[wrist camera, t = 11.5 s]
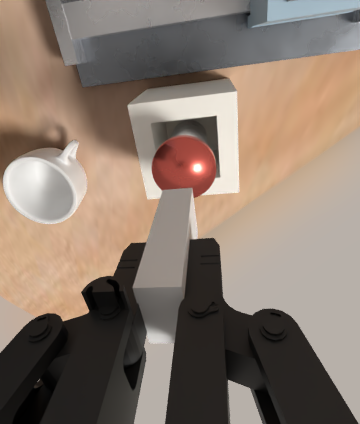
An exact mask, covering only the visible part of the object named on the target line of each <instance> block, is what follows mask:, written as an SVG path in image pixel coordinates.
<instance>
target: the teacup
mask: <svg viewBox="0 0 360 424" xmlns="http://www.w3.org/2000/svg"><path fill="white" fill-rule="evenodd" d="M78 145H79V142H78V141H76V140H72V141H71V142H70V143H69V144H68V145H67V146H66V148H65V149H64V150H60V149H57V148H41V149H36V150H32V151H30V152H28V153H25V154H23V155H21V156H19V157H17V158H16V159H14V160H13V161H12V162H11V163H10V164H9V165H8V167H7V168H6V170H5V172H4V176H3V188H4V191H5V194H6V196H7V198H8V200H9V202H10V203H11V204H12V206H13V207H14V208H15V209H16V210H17V211H18V212H19V213H21V214H22V215H23V216H25V217H27V218H29V219H31V220H33V221H35V222H39V223H44V224H55V223H59V222H62V221H64V220H66V219H68V218H69V217H70V216H71V215H72V214H73V213H74V212H75V211H76V209H77V208H78V206H79V204H80V203H81V201H82V199H83V197H84V196H85V193H86V191H87V177H86V173H85V171H84V169H83V167H82V165H81V164H80V162H79V161H78V160H77V159H76V151H77V147H78Z"/></svg>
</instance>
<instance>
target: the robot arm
mask: <svg viewBox="0 0 360 424" xmlns="http://www.w3.org/2000/svg"><path fill="white" fill-rule="evenodd" d="M197 236H198V231H197V222H196V214H195V206H194V198H193V189H192V188H182V189H169V190H163V191H162V194H161V197H160V201H159V204H158V207H157V210H156V213H155V217H154V220H153V223H152V226H151V230H150V233H149V236H148V239H147V242H146V243H131V244H130V245H129V246H128V247H127V248H126V249H125V250H124V251H123V254H122V256H121V259H120V262H119V264H118V266H117V269H116V271H115V273H114V276H106V277H100V278H98V279H96V280H94V281H92V282H91V283H89V284H88V285H87V286H86V287H85V288H84V289H83V291H82V292H81V293H82V295H83V297H84V300H85V302H86V304H87V306H88V309H89V313H88V314H85V315H83V316H80V317H76V318H73V319H70V320H66V321H62V319H61V317H60V316H58V315H57V314H50V313H47V314H44V315H41V316H38V317H36V318H35V319H34V320H31V321H30V322H29V323H28V324H27V325H25V326H24V327H23V329H22V330H21V331H20V332H19V333H18V334H17V335H16V336H15V337H14V339H13V340H12V341H11V342H10V343H9V344H8V345H7V346H6V347H5V349H4V350H3V351H2V352H1V353H0V424H134V419H135V414H136V408H137V404H138V398H139V393H140V388H141V383H142V378H143V373H144V367H145V362H146V351H145V348H144V344H145V339H146V334H147V337H148V341H149V343H174V352H173V360H172V370H171V378H170V386H169V395H168V404H167V412H166V421H165V424H230V412H229V394H228V380H231V381H233V382H236V383H238V384H241V385H244V386H246V387H249V388H250V389H251V392H252V394H253V397H254V400H255V403H256V406H257V409H258V412H259V414H260V417H261V420H262V423H263V424H358V422H357V420H356V419H355V417H354V416H353V414H352V412H351V411H350V409H349V407H348V406H347V404H346V403H345V401H344V399H343V398H342V396H341V394H340V393H339V391H338V389H337V388H336V386H335V385H334V383H333V381H332V380H331V378H330V376H329V375H328V373H327V372H326V370H325V368H324V367H323V365H322V363H321V362H320V360H319V358H318V357H317V355H316V353H315V352H314V350H313V349H312V347H311V345H310V344H309V342H308V340H307V339H306V337H305V335H304V334H303V332H302V331H301V329H300V327H299V326H298V324H297V323H296V322H295V320H294V319H293V318H292V317H291V316H289V315H288V314H286V313H284V312H283V311H280V310H276V309H262V310H260V311H258V312H256V313H255V314H253V316H252V315H248V314H245V313H241V312H239V311H236V310H234V309H233V308H231V307H230V306H229V305H228V304H227V303H226V302H225V301H224V298H223V292H222V273H221V261H220V248H219V247H220V246H219V244H218V243H217V242H216V241H215V239H214V238H206V239H197ZM39 379H40V380H39ZM38 380H39V381H38Z"/></svg>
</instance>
